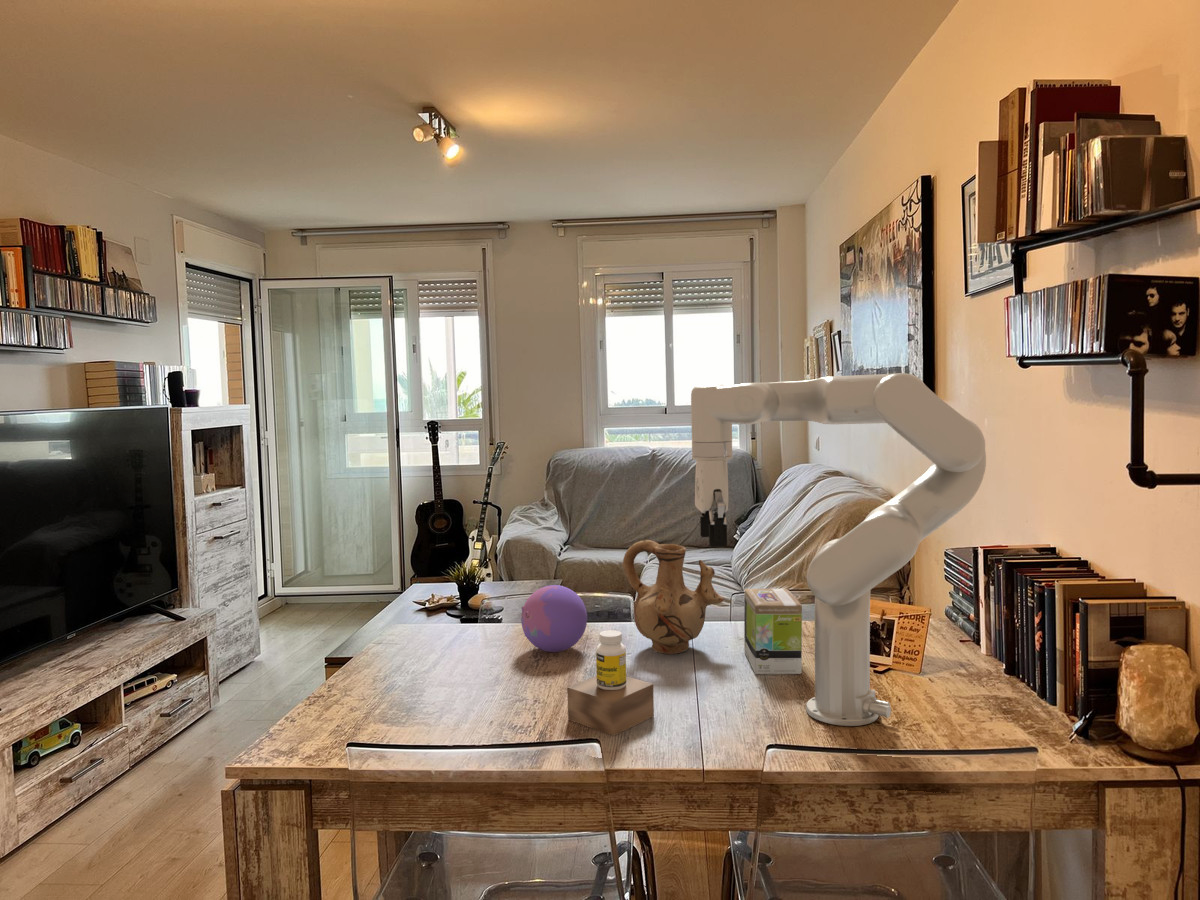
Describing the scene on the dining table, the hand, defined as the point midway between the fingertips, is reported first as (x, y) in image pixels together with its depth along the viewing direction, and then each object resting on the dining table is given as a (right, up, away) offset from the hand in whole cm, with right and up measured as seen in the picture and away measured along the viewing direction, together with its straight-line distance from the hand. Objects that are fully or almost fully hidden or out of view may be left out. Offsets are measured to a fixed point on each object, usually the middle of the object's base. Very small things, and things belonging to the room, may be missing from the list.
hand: (713, 541), depth 157 cm
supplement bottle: (-19, -26, -7) cm, 33 cm away
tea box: (+16, -29, +21) cm, 39 cm away
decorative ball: (-32, -29, +33) cm, 54 cm away
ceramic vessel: (-5, -28, +32) cm, 43 cm away
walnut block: (-19, -31, -6) cm, 37 cm away
